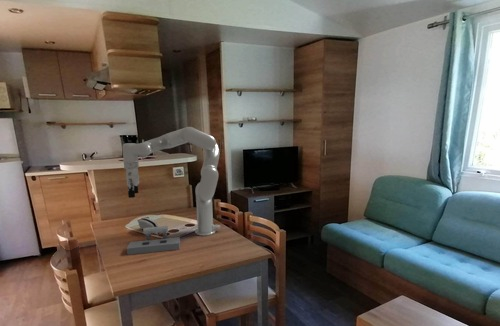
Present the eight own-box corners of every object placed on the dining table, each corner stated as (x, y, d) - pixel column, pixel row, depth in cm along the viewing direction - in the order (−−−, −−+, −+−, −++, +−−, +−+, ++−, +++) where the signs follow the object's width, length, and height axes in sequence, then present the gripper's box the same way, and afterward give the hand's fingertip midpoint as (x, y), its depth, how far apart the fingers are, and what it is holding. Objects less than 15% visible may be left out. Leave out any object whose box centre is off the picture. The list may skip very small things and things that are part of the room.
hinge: (163, 232, 172) (157, 219, 167) (157, 237, 168) (151, 223, 164) (147, 226, 181) (141, 214, 177) (141, 231, 178) (135, 218, 174)
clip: (168, 239, 160) (167, 225, 159) (168, 241, 157) (167, 227, 156) (145, 242, 157) (144, 227, 156) (144, 244, 154) (143, 229, 153)
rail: (179, 243, 155) (179, 237, 154) (179, 249, 147) (179, 243, 147) (130, 248, 149) (130, 242, 149) (127, 255, 142) (126, 248, 141)
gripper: (135, 167, 146) (137, 198, 148) (141, 163, 163) (143, 191, 165) (120, 168, 145) (122, 199, 147) (127, 163, 161) (130, 192, 164)
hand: (133, 195), depth 156 cm, fingers open, 9 cm apart
